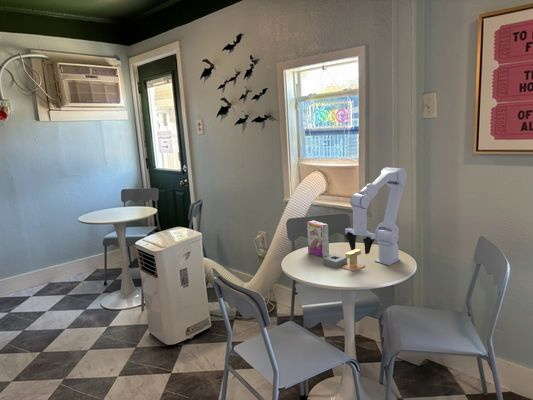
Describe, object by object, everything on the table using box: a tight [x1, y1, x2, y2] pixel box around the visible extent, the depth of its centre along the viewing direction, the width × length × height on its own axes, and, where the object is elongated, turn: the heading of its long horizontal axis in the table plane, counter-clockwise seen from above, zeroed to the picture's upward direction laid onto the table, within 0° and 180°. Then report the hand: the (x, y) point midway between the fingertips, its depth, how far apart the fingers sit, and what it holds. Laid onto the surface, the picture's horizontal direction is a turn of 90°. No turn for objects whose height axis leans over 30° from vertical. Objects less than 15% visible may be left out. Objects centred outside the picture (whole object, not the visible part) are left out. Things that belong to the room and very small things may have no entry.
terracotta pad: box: [341, 262, 366, 273], centre depth 177 cm, size 8×7×1 cm
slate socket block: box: [322, 253, 348, 269], centre depth 183 cm, size 8×8×3 cm
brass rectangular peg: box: [345, 248, 362, 268], centre depth 177 cm, size 8×2×7 cm, turn 131°
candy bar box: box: [306, 220, 330, 258], centre depth 196 cm, size 11×5×16 cm, turn 34°
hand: (360, 251), depth 170 cm, fingers open, 7 cm apart
